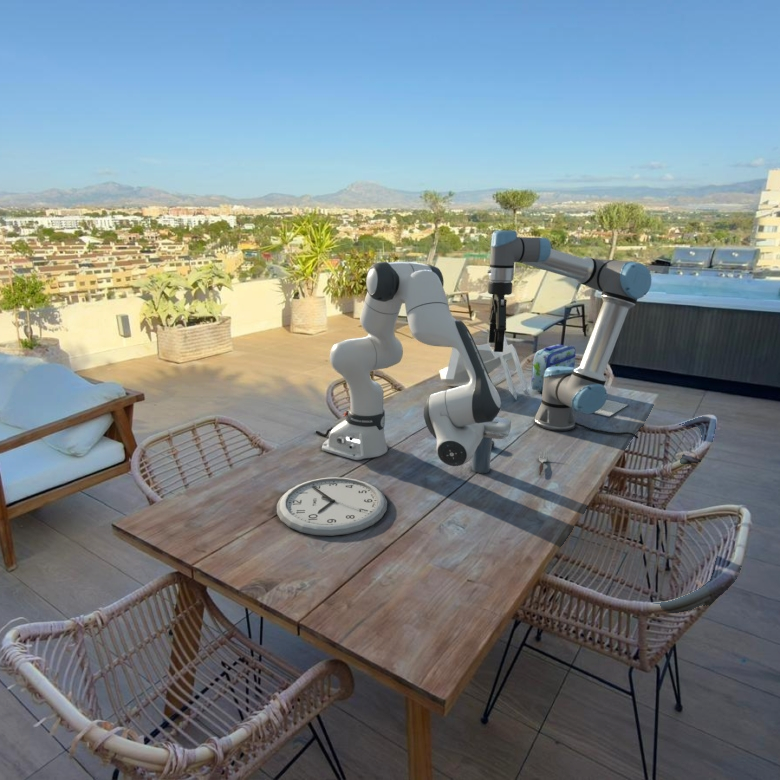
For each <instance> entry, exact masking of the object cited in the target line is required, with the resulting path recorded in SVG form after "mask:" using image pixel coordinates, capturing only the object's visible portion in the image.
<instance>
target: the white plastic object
mask: <svg viewBox="0 0 780 780" xmlns="http://www.w3.org/2000/svg"><path fill="white" fill-rule="evenodd" d="M476 346H477V349H478V351H479V353H480V356H481V358H482V360H483V363H484V365H485V368H486V370H487V372H488V375H489V374H490V373H492V372H494V371H495V370H496V369H497V368H499V367H500V366H502V370H503V373H504V376H505V380H506V383H507V386H508V390H509V393H510V394H511V395H512V397H513V398H514V399H515V400H517V392H516V391H517V390H516V388H515V385H514V381H513V378H512V375H511V371H510V369H509V365H508V361H510V360H513V363H514V366H515V369H516V372H517V376H518V380H519V382H520V385H521V389H522V391H523V393H524V395H525V396H526V397H528V396H531V395H530V390H529V388H528V387H529V386H528V384H527V381H526V378H525V375H524V371H523V369H522V368H523V367H522V366H521V362H520V359H519V355H518V352H517V349H516V347H515V346H514V345H513V343H511V344H508V341H507V337H506V334H505V333H504V345H503V352H494V349H493V348H492V347H491V346H490V343H489V342H487V343H483V344H479V345H476ZM451 348H452V347H451ZM438 372H439V376H440V381H442V383H443V384H444V385H445V386H449V385H458V384H468V383H469V382H470V377H469V375H468V372H467V370H466V367H465V365H464V363H463V360H462V358H461V355H460V353H459V351H458V350H457V349H455V348H452V349H451V353H450V357H449V362H448V366H446V367H444V368H442V369H440V370H439V371H438Z"/></svg>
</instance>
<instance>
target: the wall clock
mask: <svg viewBox="0 0 780 780" xmlns="http://www.w3.org/2000/svg"><path fill="white" fill-rule="evenodd" d="M387 509H388V500H387V498H386V496H385V494H384V493H383V492H382V491H381V490H380V489H379V488H377V487H376V486H374V485H372V484H371V483H369V482H365V481H362V480H359V479H355V478H349V477H338V476H337V477H335V476H333V477H332V476H331V477H322V478H317V479H312V480H307V481H305V482H302V483H299V484H297V485H295V486H293V487H292V488H290V489H288V490H287V491H286V492H285V493H284V494H283V495H281V496H280V498H279V499H278V502H277V503H276V515H277V517H278V518H279V520H280V521H281V522H282V523H283V524H285V525H286V526H287V527H288V528H290V529H293V530H295V531H297V532H299V533H303V534H308V535H312V536H327V537H328V536H329V537H331V536H332V537H333V536H342V535H350V534H352V533H356V532H361V531H363V530H366V529H368V528H369V527H372V526H373V525H375V524H376V523H378V522H379V521H380V520H381V519H382V518H383V517H384V516H385V514H386V512H387Z"/></svg>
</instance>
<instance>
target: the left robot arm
mask: <svg viewBox="0 0 780 780" xmlns="http://www.w3.org/2000/svg"><path fill="white" fill-rule="evenodd" d="M365 279H366V280H365V287H366V295H365V297H364V302H363V305H362V307H361V308H362V309H361V312H360V315H359V322H360V323H359V324H360V325H361V328H362V329H363V330H364V331H365V332H366V333H368V334H367V336H365V337H356V338H348V339H345V340H342V341H339V342H337V343H334V344H333V345H332V347H331V349H330V351H329V362H330V365H331V367H332V368H333V370H334V371H335V372H336V373H338V374H339V375H341V377H343V379H344V380H345V382H346V384H347V386H348V390H349V403H350V405H349V407H348V409H346V410H345V412H344V413H343V418H345V419H343V420H342V421H340V422H339V423H338V424H336V425H334V426H331V427H330V428H328V429H327V430H326V431H325V433H322V432H321V431H319V430H316V431H315V433H316V434H318V435H319V436H321V437H328V439H325V441H324V442H323V443H322V445H321V450H322V451H323V452H327V453H328V454H329V453H330V454H333V455H337V456H340V457H343V458H347V459H350V460H353V461H360V460H364V459H372V458H377V457H381V456H383V455H384V454H386V453H387V452H388V450H389V447H388V445H387V441H386V437H385V436H386V434H385V423H386V414H385V413H386V412H385V409H384V405H385V403H384V400H385V399H384V396H385V394H384V392H385V391H384V388H383V387H382V385H381V384H380V383H379V382H377V381H376V380H372V378H371V372H372V371H377V370H384V369H388V368H391V367H393V366H396V365H398V364H399V363H400V362H401V361H402V359H403V355H404V347H403V344H402V343H401V341H400V339H399V338H398V337H397V336H396V335H395V329H396V325H397V322H398V317H399V315H400V311H401V308H402V305H403V304H404V308H405V315H406V319H407V324H408V328H409V330H410V333H411V335H412V336H413V337H414V338H415V340H417V341H418V342H420V343H422V344H424V345H427V346H431V347H432V346H433V347H443V348H455V349H457V350H458V351H459V353H460V355H461V358H462V360H463V363H464V365H465V367H466V370H467V372H468V375H469V377H470V382H468V383H465V384H463V385H460V386H456V387H453V388H447V389H443V390H441V391H437V392H435V393H431V394H429V396H428V397H427V399H426V401H425V404H424V407H423V419H424V422H425V425H426V427H427V430H428V432H429V433H430V434H431V435H432V437H434V438H435V439H436V454H437V457H438V458H439V460H440V461H441V462H442V463H444V464H445V465H447V466H450V467H460V466H463V465H464V464H466V463H467V462H469V461H470V459H471V458H473V455H474V453H475V451H476V449H477V447H478V445H479V444H480V442H481V440H482V439H483V437H487V438H492V439H495V440H503V439H505V438H507V437H508V436H509V434H510V432H511V429H512V428H511V427H512V421H511V420H510V419H509V418H504V417H498V415H499V413H500V411H501V409H502V401H501V397H500V394H499V391H498V390H497V388H496V387H495V385H494V383H493V381H492V378H491V377H490V375H489V374H488V372H487V370H486V368H485V365H484V363H483V360H482V358H481V356H480V353H479V351H478V349H477V346H478V345H476V342H475V340H474V338H473V336H472V333H471V332H470V330H469V328H468V326H467V325H466V324H465V323H464V322H463V321H462V320H458V319H456V318H455V317H454V316H453V314H452V312H451V309H450V305H449V301H448V298H447V294H446V292H445V288H444V282H445V281H444V276H443V273H442V271H441V269H440V268H439V267H437V266H435V265H432V264H429V263H425V264H423V263H419V262H413V261H403V262H402V261H399V262H397V261H396V262H387V261H380V262H376V263H373V264H372V265H371V266H370V267H369V269H368V271H367V273H366V278H365Z"/></svg>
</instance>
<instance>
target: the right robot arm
mask: <svg viewBox="0 0 780 780" xmlns="http://www.w3.org/2000/svg"><path fill="white" fill-rule="evenodd" d="M515 263H519V264H523V265H526V266H530V267H533V268H536V269H539V270H543V271H546V272H549V273H553V274H556V275H560V276H563V277H566V278H570V279H574V281H575V283H577V284H580V285H583V286H586V287H588V288H591V289H593V290H596V291H597V292H600V293H601V294H600V297H601V300H602V301H603V302H602V305H601V307H600V309H599V313H598V315H597V319H596V321H595V324H594V326H593V328H592V331H591V333H590V337H589V339H588V342H587V345H586V348H585V350H584V352H583V355H582V358H581V361H580V363H579V365H578V367H574V368H573V367H564V366H556V367H549V368H547V369H546V370H545V374H544V382H543V391H541V393H542V394H541V402H540V405H539V407H538V410H537V411H536V413H535V416H534V424H535V425H536V426H537V427H539V428H542V429H544V430H549V431H556V432H567V431H572V430H574V429H575V428H576V426H578V427H581V428H583V429H586V430H589V431H593V432H597V433H601V434H609V435H615V436H616V435H617V436H625V435H626V436H627V435H629V436H632V437H634V438H635V439H639V436H638V435H637V434H636V433H633V432H629V431H627V432H626V431H625V432H615V431H609V430H602V429H597V428H593V427H589V426H586V425H584V424H582V423H579V422H576V418H575V417H576V416H575V413H574V412H575V411H576V412H578V413H581V414H583V415H584V414H585V415H590V414H595V413H594V412H596V411H598V410H599V409H601V408H602V406H603V405H604V404H605V402H606V400H608V392H607V391H608V390H607V389H606V387H605V384H606V382H607V379H606V377H605V372H606V369H607V367H608V364H609V361H610V359H611V356H612V353H613V351H614V348H615V346H616V344H617V340H618V338H619V335H620V333H621V330H622V327H623V325H624V323H625V320H626V317H627V314H628V312H629V310H630V309H631V308H633V307H634V306H636V304H637V301H638V300H639V299H642V298H644V297H645V296H646V295H647V294H648V293H649V291H650V289H651V286H652V274H651V273H650V270H649V268H648V266H646V265H645V264H644V263H641V262H636V261H632V260H629V261H627V260H615V259H600V258H599V259H598V258H594V257H590V256H584V257H583V258H582V257H579V256H576V255H573V254H570V253H567V252H564V251H560V250H557V249H554V248H552V243H551V241H550V240H549V239H548V238H546V237H540V236H538V237H537V236H535V237H533V236H532V237H529V236H518V232H517V231H516V230H493V232H492V235H491V242H490V257H489V270H487V274H488V280H489V282H488V283H487V293H488V294H489V295H491V296H492V297H491V298H492V299H491V306H490V313H489V317H488V320H489V329H488V331H489V332H488V344H494V347H493V350H494V352H503V345H504V334H505V333H506V331H507V302H508V300H507V298H505V296H510V295H512V293H513V281H514V273H515Z"/></svg>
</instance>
